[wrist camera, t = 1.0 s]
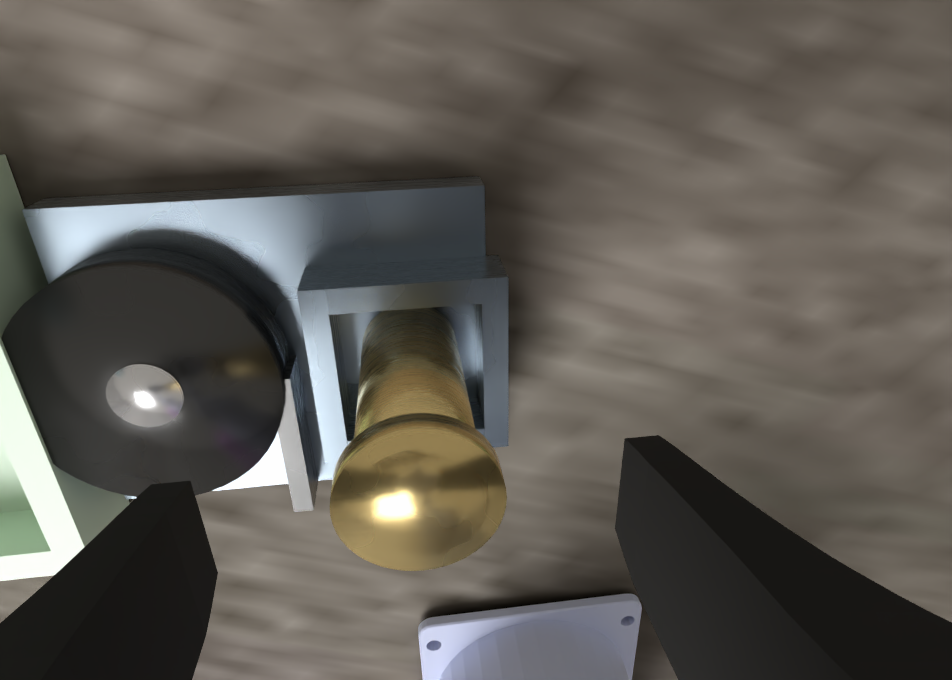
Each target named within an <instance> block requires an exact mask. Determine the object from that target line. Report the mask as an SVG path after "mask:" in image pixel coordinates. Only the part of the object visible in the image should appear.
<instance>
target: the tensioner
mask: <svg viewBox="0 0 952 680" xmlns="http://www.w3.org/2000/svg"><path fill="white" fill-rule="evenodd" d="M22 212H23V215H24V217H25V220H26V223H27V226H28V228H29V231H30V234H31V237H32V240H33V242H34V245H35V248H36V251H37V253H38V256H39V259H40V262H41V265H42V267H43V270H44V273H45V276H46V279H47V281H48V285H47V286H46V287H44V288H43V289H42V290H40V291H39V292H38V293H36V294H35V295H34V296H33V297H31V298H30V299H29V300H28V301H27V302H25V303H24V304H23V305H22V306H21V307H20V308H19V310H18V311H17V312H16V313H15V314H14V315H13V317H12V318H11V320H10V322H9V323H8V325H7V327H6V328H5V330H4V332H3V335H2V338H1V339H2V342H3V344H4V347H5V349H6V351H7V354H8V356H9V359H10V361H11V364H12V366H13V368H14V371H15V373H16V376H17V378H18V380H19V383H20V385H21V388H22V390H23V393H24V395H25V397H26V400H27V402H28V405H29V407H30V409H31V412H32V414H33V417H34V419H35V422H36V424H37V426H38V429H39V431H40V434H41V436H42V438H43V441H44V443H45V446H46V448H47V451H48V453H49V455H50V458H51V460H52V463H53V464H54V465H55V466H57V467H58V468H59V469H61V470H63V471H64V472H66V473H68V474H70V475H71V476H73V477H75V478H77V479H79V480H81V481H83V482H86V483H88V484H90V485H92V486H95V487H98V488H101V489H104V490H107V491H110V492H114V493H119V494H123V495H124V496H125V499H135V498H136V497H138V496H139V495H140V494H141V493H142V492H143V491H144V490H145V489H146V488H148V487H149V486H150V485H151V484H161V483H171V482H181V481H191V484H192V488H193V491H194V494H195V495H198V494H202V493H206V492H209V491H217V490H227V489H237V488H247V487H257V486H268V485H278V484H289V489H290V494H291V499H292V504H293V508H294V512H299V511H309V510H314V504H315V498H316V491H317V485H318V481H319V480H329V479H333V474H334V470H335V467H336V464H337V462H338V459H339V457H340V455H341V454H342V452H343V451H344V449H345V448H346V446H347V445H348V444H349V443H350V442H351V441H352V440H353V439H354V433H355V422H356V410H357V399H358V387H359V376H360V364H361V353H362V342H363V336H364V333H365V331H366V328H367V327H368V325H369V323H370V322H371V321H372V320H373V318H374V317H376V316H377V315H378V314H379V313H380V312H382V311H389V310H403V309H417V308H433V309H435V310H437V311H438V312H439V313H441V314H442V315H443V316H444V317H445V318H446V319H447V320H448V321H449V323H450V324H451V326H452V328H453V330H454V333H455V336H456V341H457V345H458V350H459V355H460V360H461V364H462V369H463V374H464V378H465V383H466V388H467V392H468V397H469V402H470V406H471V411H472V416H473V421H474V425H475V429H476V430H477V431H479V432H480V433H481V434H482V435H483V436H484V437H485V438H486V439H487V440H488V441H489V442H490V444H491V445H492V447H503V446H508V275H507V273H506V271H505V269H504V267H503V265H502V263H501V261H500V259H499V256H498V255H492V256H486V246H485V186H484V184H483V182H482V181H481V179H480V177H479V176H476V177H456V178H436V179H416V180H396V181H377V182H357V183H337V184H317V185H298V186H278V187H258V188H238V189H219V190H199V191H179V192H159V193H139V194H120V195H100V196H80V197H60V198H44V199H42V200H40V201H38V202H36V203H34V204H32V205H30V206H28V207H26V208H24V209H22Z"/></svg>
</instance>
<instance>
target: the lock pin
mask: <svg viewBox="0 0 952 680" xmlns="http://www.w3.org/2000/svg"><path fill="white" fill-rule="evenodd" d="M506 499H507V496H506V487H505V483H504V479H503V475H502V471H501V467H500V463H499V460H498V457H497V455H496V452H495V450H494V449H493V447H492V445H491V444H490V442H489V441H488V440H487V439H486V438H485V437H484V436H483V435H482V434H481V433H480V432H479V431H477V430H476V429H475V425H474V421H473V416H472V411H471V406H470V402H469V397H468V392H467V388H466V383H465V378H464V374H463V369H462V364H461V360H460V355H459V350H458V345H457V341H456V336H455V333H454V330H453V328H452V326H451V324H450V323H449V321H448V320H447V319H446V318H445V317H444V316H443V315H442V314H441V313H439V312H438V311H437V310H435V309H433V308H417V309H403V310H389V311H382V312H380V313H379V314H378V315H377V316H376V317H374V318H373V320H372V321H371V322H370V323H369V325H368V327H367V328H366V331H365V333H364V336H363V342H362V353H361V364H360V376H359V387H358V399H357V410H356V422H355V433H354V439H353V440H352V441H351V442H350V443H349V444H348V445H347V446H346V448H345V449H344V451H343V452H342V454H341V455H340V457H339V459H338V462H337V464H336V467H335V470H334V474H333V482H332V490H331V498H330V516H331V520H332V523H333V526H334V528H335V531H336V533H337V534H338V536H339V537H340V539H341V540H342V541H343V543H344V544H345V545H346V546H347V547H348V548H349V549H350V550H352V551H353V552H354V553H355V554H357V555H358V556H360V557H361V558H363V559H365V560H367V561H369V562H371V563H373V564H376V565H379V566H382V567H386V568H390V569H396V570H403V571H419V570H429V569H435V568H439V567H443V566H447V565H450V564H452V563H455V562H457V561H459V560H462V559H464V558H466V557H467V556H469V555H471V554H472V553H474V552H475V551H477V550H478V549H479V548H480V547H482V546H483V545H484V544H485V543H486V542H487V541H488V540H489V539H490V538H491V536H492V535H493V534H494V533H495V531H496V530H497V528H498V526H499V525H500V523H501V520H502V518H503V516H504V512H505V508H506Z"/></svg>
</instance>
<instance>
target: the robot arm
mask: <svg viewBox="0 0 952 680" xmlns="http://www.w3.org/2000/svg"><path fill="white" fill-rule="evenodd" d="M615 529H616V532H617V536H618V539H619V542H620V545H621V548H622V551H623V555H624V558H625V561H626V564H627V567H628V570H629V572H630V575H631V578H632V581H633V584H634V586H635V588H636V590H637V593H638V595H639V597H640V599H641V601H642V603H643V606H644V608H645V610H646V612H647V614H648V616H649V618H650V621H651V623H652V625H653V627H654V629H655V631H656V633H657V635H658V638H659V640H660V642H661V644H662V646H663V648H664V650H665V652H666V654H667V656H668V659H669V661H670V663H671V665H672V667H673V669H674V671H675V673H676V675H677V678H678V680H952V623H951V622H949V621H947V620H945V619H943V618H941V617H939V616H937V615H935V614H933V613H931V612H929V611H927V610H925V609H923V608H921V607H919V606H918V605H916V604H914V603H912V602H910V601H908V600H906V599H904V598H902V597H900V596H899V595H897V594H895V593H893V592H891V591H890V590H888V589H886V588H884V587H883V586H881V585H879V584H877V583H875V582H874V581H872V580H870V579H868V578H867V577H865V576H863V575H861V574H860V573H858V572H856V571H854V570H852V569H851V568H849V567H847V566H846V565H844V564H842V563H841V562H839V561H837V560H836V559H834V558H832V557H831V556H829V555H828V554H826V553H824V552H823V551H821V550H820V549H818V548H817V547H815V546H813V545H812V544H810V543H809V542H807V541H806V540H804V539H803V538H801V537H800V536H798V535H797V534H795V533H793V532H792V531H790V530H789V529H787V528H786V527H784V526H783V525H781V524H780V523H778V522H777V521H776V520H774V519H773V518H771V517H770V516H768V515H767V514H765V513H764V512H762V511H761V510H760V509H758V508H757V507H755V506H754V505H753V504H751V503H750V502H748V501H747V500H746V499H744V498H743V497H741V496H740V495H739V494H737V493H736V492H735V491H733V490H732V489H731V488H729V487H728V486H726V485H725V484H724V483H722V482H721V481H720V480H718V479H717V478H716V477H714V476H713V475H712V474H710V473H709V472H708V471H706V470H705V469H704V468H702V467H701V466H700V465H698V464H697V463H696V462H695V461H693V460H692V459H691V458H689V457H688V456H687V455H685V454H684V453H683V452H681V451H680V450H679V449H677V448H676V447H675V446H673V445H672V444H670V443H669V442H668V441H666V440H665V439H663V438H662V437H661V436H659V435H657V436H647V437H637V438H626V439H625V441H624V451H623V460H622V469H621V479H620V488H619V497H618V507H617V516H616V525H615ZM217 574H218V572H217V569H216V565H215V562H214V558H213V555H212V552H211V548H210V545H209V542H208V538H207V535H206V531H205V528H204V525H203V521H202V518H201V515H200V511H199V508H198V504H197V501H196V498H195V494H194V491H193V488H192V484H191V481H181V482H171V483H161V484H151V485H150V486H149V487H148V488H146V489H145V490H144V491H143V492H142V493H141V494H140V495H139V496H138V497H136V498H135V499H134V500H133V501H132V502H131V503H130V504H129V505H128V506H127V507H126V508H125V509H124V510H123V511H122V512H121V513H120V514H119V515H117V516H116V517H115V518H114V519H113V520H112V521H111V522H110V523H109V524H108V525H107V526H106V527H105V528H104V529H103V530H102V531H101V532H100V533H99V534H98V535H97V536H96V537H95V538H94V539H93V540H92V541H90V542H89V543H88V544H87V545H86V546H85V547H84V548H83V549H82V550H81V551H80V552H79V553H78V554H77V555H76V556H75V557H73V558H72V559H71V560H70V561H69V562H68V563H67V564H66V565H65V566H64V567H63V568H62V569H61V570H60V571H59V572H57V573H56V574H55V575H54V576H53V577H52V578H51V579H50V580H49V581H48V582H47V583H46V584H45V585H44V586H42V587H41V588H40V589H39V590H38V591H37V592H36V593H35V594H33V595H32V596H31V597H30V598H29V599H28V600H27V601H25V602H24V603H23V604H22V605H21V606H20V607H18V608H17V609H16V610H15V611H14V612H13V613H12V614H10V615H9V616H8V617H7V618H6V619H5V620H4V621H2V622H1V623H0V680H192V678H193V675H194V671H195V668H196V665H197V662H198V659H199V656H200V653H201V649H202V646H203V643H204V640H205V636H206V632H207V627H208V622H209V618H210V613H211V608H212V602H213V597H214V591H215V585H216V580H217ZM641 611H642V606H641V603H640V601H639V598H638V597H637V596H636V595H634V594H618V595H610V596H602V597H593V598H585V599H577V600H569V601H561V602H552V603H544V604H536V605H528V606H520V607H511V608H503V609H495V610H487V611H479V612H470V613H462V614H454V615H446V616H438V617H431V618H427V619H425V620H424V621H422V622H421V623H420V624H419V628H418V634H419V646H420V656H421V667H422V677H423V680H632V675H633V668H634V661H635V654H636V647H637V640H638V633H639V625H640V618H641ZM433 640H434V641H433Z"/></svg>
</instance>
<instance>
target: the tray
mask: <svg viewBox="0 0 952 680" xmlns="http://www.w3.org/2000/svg"><path fill="white" fill-rule="evenodd" d="M22 209H24V205H23V203H22V200H21V197H20V194H19V191H18V189H17V186H16V183H15V180H14V177H13V175H12V172H11V169H10V166H9V163H8V161H7V158H6V155H5V154H2V155H0V581H4V580H14V579H23V578H32V577H41V576H51V575H55V574H56V573H57V572H59V571H60V570H61V569H62V568H63V567H64V566H65V565H66V564H67V563H68V562H69V561H70V560H71V559H72V558H73V557H75V556H76V555H77V554H78V553H79V552H80V551H81V550H82V549H83V548H84V547H85V546H86V545H87V544H88V543H89V542H90V541H92V540H93V539H94V538H95V537H96V536H97V535H98V534H99V533H100V532H101V531H102V530H103V529H104V528H105V527H106V526H107V525H108V524H109V523H110V522H111V521H112V520H113V519H114V518H115V517H116V516H117V515H119V514H120V513H121V512H122V511H123V510H124V509H125V508H126V507H127V506H128V505H129V504H130V503H129V500H128V499H125V496H124V495H123V494H119V493H114V492H110V491H107V490H104V489H101V488H98V487H95V486H92V485H90V484H88V483H86V482H83V481H81V480H79V479H77V478H75V477H73V476H71V475H70V474H68V473H66V472H64V471H63V470H61V469H59V468H58V467H57V466H55V465H54V464H53V463H52V460H51V458H50V455H49V453H48V451H47V448H46V446H45V443H44V441H43V438H42V436H41V434H40V431H39V429H38V426H37V424H36V422H35V419H34V417H33V414H32V412H31V409H30V407H29V405H28V402H27V400H26V397H25V395H24V393H23V390H22V388H21V385H20V383H19V380H18V378H17V376H16V373H15V371H14V368H13V366H12V364H11V361H10V359H9V356H8V354H7V351H6V349H5V347H4V344H3V342H2V339H1V338H2V335H3V332H4V330H5V328H6V327H7V325H8V323H9V322H10V320H11V318H12V317H13V315H14V314H15V313H16V312H17V311H18V310H19V308H20V307H21V306H22V305H23V304H24V303H25V302H27V301H28V300H29V299H30V298H31V297H33V296H34V295H35V294H36V293H38V292H39V291H40V290H42V289H43V288H44V287H46V286H47V285H48V281H47V279H46V276H45V273H44V270H43V267H42V265H41V262H40V259H39V256H38V253H37V251H36V248H35V245H34V242H33V240H32V237H31V234H30V231H29V228H28V226H27V223H26V220H25V217H24V215H23V212H22Z"/></svg>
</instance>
